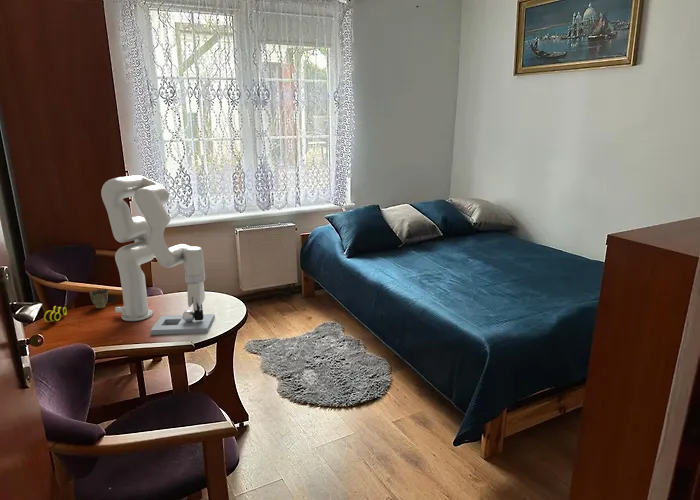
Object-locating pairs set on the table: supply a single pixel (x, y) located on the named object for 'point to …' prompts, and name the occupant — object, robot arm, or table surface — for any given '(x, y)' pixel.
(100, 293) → the cup
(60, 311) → the yellow looped piece
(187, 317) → the steel ball
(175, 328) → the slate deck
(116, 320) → the table surface
